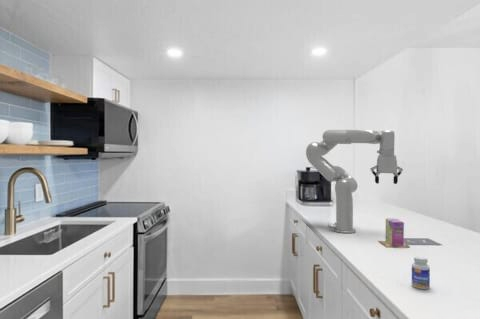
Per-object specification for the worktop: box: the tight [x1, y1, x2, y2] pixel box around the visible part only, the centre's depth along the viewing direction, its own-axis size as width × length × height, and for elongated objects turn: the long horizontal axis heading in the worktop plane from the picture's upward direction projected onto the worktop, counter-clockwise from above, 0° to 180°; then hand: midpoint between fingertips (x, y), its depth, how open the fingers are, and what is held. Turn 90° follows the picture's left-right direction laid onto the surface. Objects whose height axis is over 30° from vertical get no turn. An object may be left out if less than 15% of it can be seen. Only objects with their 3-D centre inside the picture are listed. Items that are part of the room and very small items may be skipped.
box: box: [385, 217, 405, 246], centre depth 172 cm, size 10×6×12 cm, turn 173°
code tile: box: [404, 237, 443, 246], centre depth 178 cm, size 18×14×1 cm
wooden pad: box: [378, 240, 411, 249], centre depth 172 cm, size 11×11×1 cm
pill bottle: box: [411, 255, 431, 290], centre depth 115 cm, size 5×5×10 cm
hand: (386, 183), depth 190 cm, fingers open, 9 cm apart
